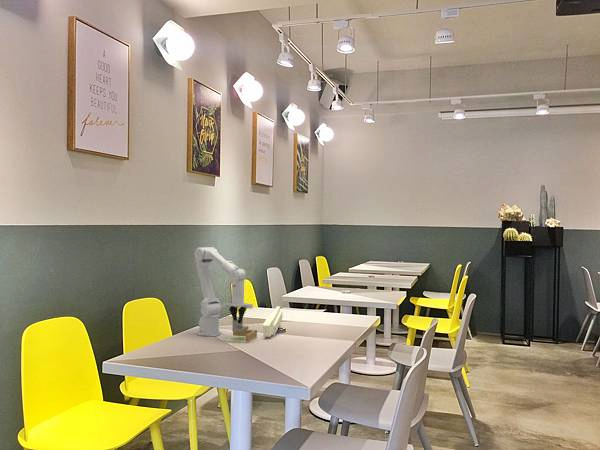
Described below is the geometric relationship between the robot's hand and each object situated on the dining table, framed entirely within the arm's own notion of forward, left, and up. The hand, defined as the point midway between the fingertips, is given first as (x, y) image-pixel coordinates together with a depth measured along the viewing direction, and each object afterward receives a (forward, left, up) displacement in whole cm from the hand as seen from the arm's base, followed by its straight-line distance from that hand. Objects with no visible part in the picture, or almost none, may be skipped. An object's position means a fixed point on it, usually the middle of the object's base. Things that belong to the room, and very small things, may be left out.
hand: (237, 322), depth 242 cm
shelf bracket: (+12, +19, -9) cm, 24 cm away
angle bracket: (+2, 0, -3) cm, 4 cm away
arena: (+1, +2, -8) cm, 8 cm away
